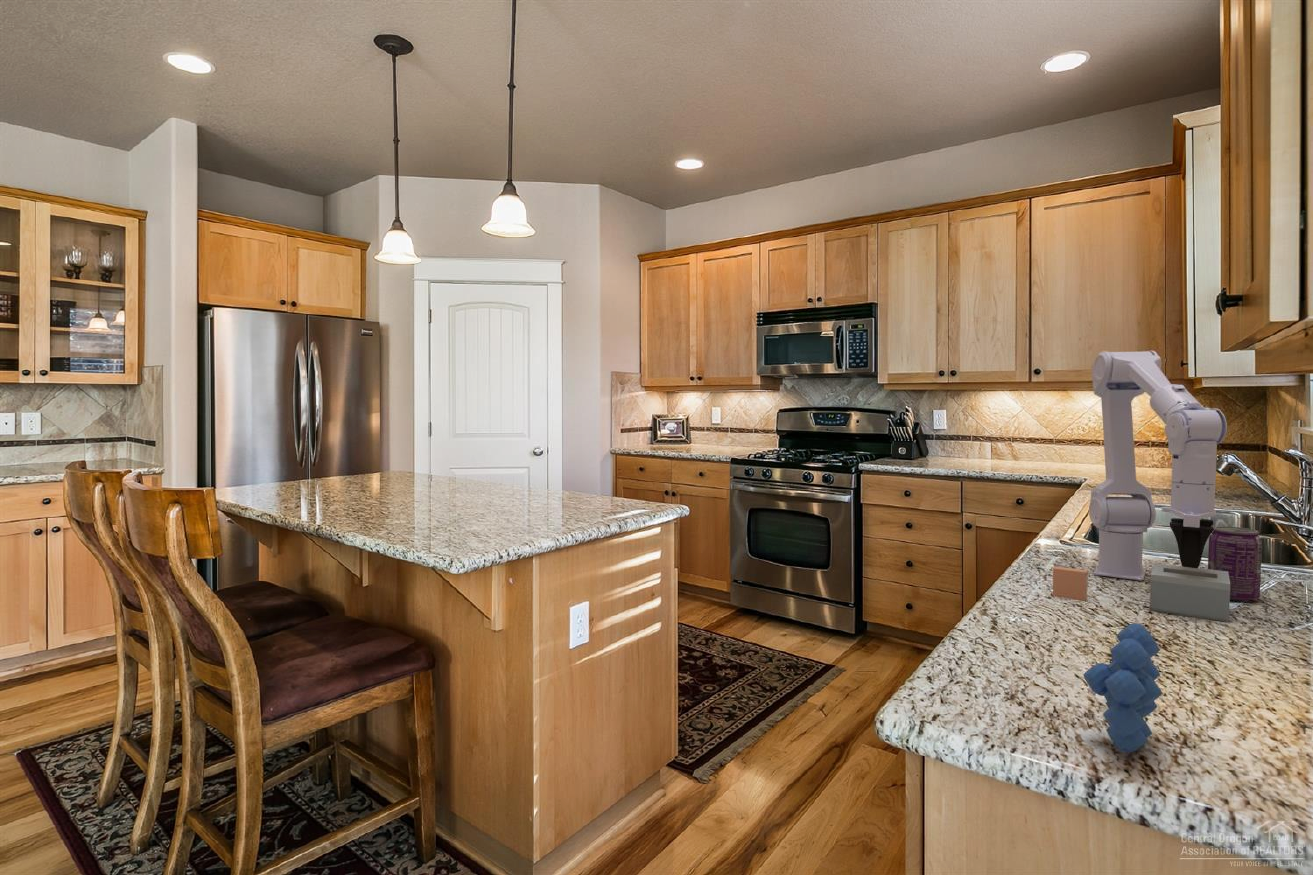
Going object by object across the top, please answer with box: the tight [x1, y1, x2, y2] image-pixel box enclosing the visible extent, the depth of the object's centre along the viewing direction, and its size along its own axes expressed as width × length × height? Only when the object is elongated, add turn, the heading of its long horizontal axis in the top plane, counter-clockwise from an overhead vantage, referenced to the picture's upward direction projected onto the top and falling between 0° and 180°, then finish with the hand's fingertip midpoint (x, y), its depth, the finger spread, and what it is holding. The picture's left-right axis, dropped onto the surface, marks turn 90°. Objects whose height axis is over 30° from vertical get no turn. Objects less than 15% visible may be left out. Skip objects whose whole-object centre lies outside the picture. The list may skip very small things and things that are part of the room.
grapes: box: [1082, 622, 1163, 754], centre depth 69 cm, size 12×7×12 cm, turn 136°
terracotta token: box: [1052, 565, 1089, 602], centre depth 121 cm, size 2×5×5 cm, turn 52°
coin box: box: [1149, 562, 1231, 623], centre depth 114 cm, size 10×10×6 cm
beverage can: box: [1207, 525, 1263, 602], centre depth 120 cm, size 7×7×12 cm
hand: (1190, 564), depth 113 cm, fingers open, 4 cm apart
